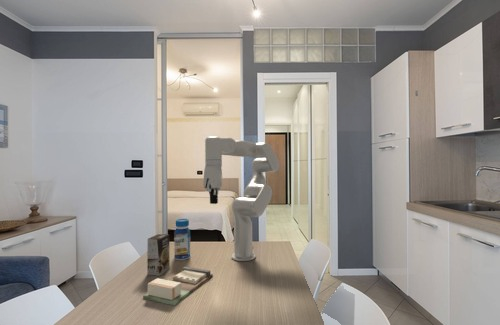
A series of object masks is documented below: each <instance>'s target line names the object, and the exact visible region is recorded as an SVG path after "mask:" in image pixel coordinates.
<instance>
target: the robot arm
mask: <svg viewBox="0 0 500 325" xmlns="http://www.w3.org/2000/svg"><path fill="white" fill-rule="evenodd" d="M204 140H205V141H204V143H205V144H204V147H205V148H204V149H205V150H204V152H205V153H204V154H205V155H204V156H205V158H204V159H205V160H204V161H205V162H204V163H205V165H204V166H205V167H204V171H203V188H204V189H206V192H207V193H208V194H209V204H212V205H217V204H218V202H219V199H218V195H219V191H220V190H221V188H222V187H223V172H222V166H223V164H222V163H223V162H222V160H223V156H230V157H242V158H249V159H250V158H252V159H253V160H252V162H251V171H252V172H251V173H252V177H251V179H250V181H249V182H248V184H247V186H246V187H245V188H244V190H243V196H240V197H236V198H235V199H234V200H233V201H232V206H231V208H232V210H231V211H232V214H233V226H234V227H233V228H234V229H233V230H234V231H233V234H234V235H233V236H234V237H233V238H234V241H233V243H234V244H233V247H234V251H233V253H232V254H231V259H232V260H233V261H237V262H248V261H249V262H250V261H253V260H254V259H256V253H254V252H253V249H254V248H255V247H254V245H253V222H252V220H251V218H259V217H261V216H262V215H263V214H264V213H265V210H267V208H268V205H269V204H270V202H271V200H272V196H273V189H272V187H271V186H270V184H266V183H267V179H266V177H265V176H264V173H275V172H277V171H278V170H279V169H280V161H279V159H278V157H277V155H276V153H275V150H274V149H273V147H272V146H271V144H270V143H268V142H251V141H247V140H235V139H234V138H232V137H220V136H207V137H206V138H205V139H204Z"/></svg>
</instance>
